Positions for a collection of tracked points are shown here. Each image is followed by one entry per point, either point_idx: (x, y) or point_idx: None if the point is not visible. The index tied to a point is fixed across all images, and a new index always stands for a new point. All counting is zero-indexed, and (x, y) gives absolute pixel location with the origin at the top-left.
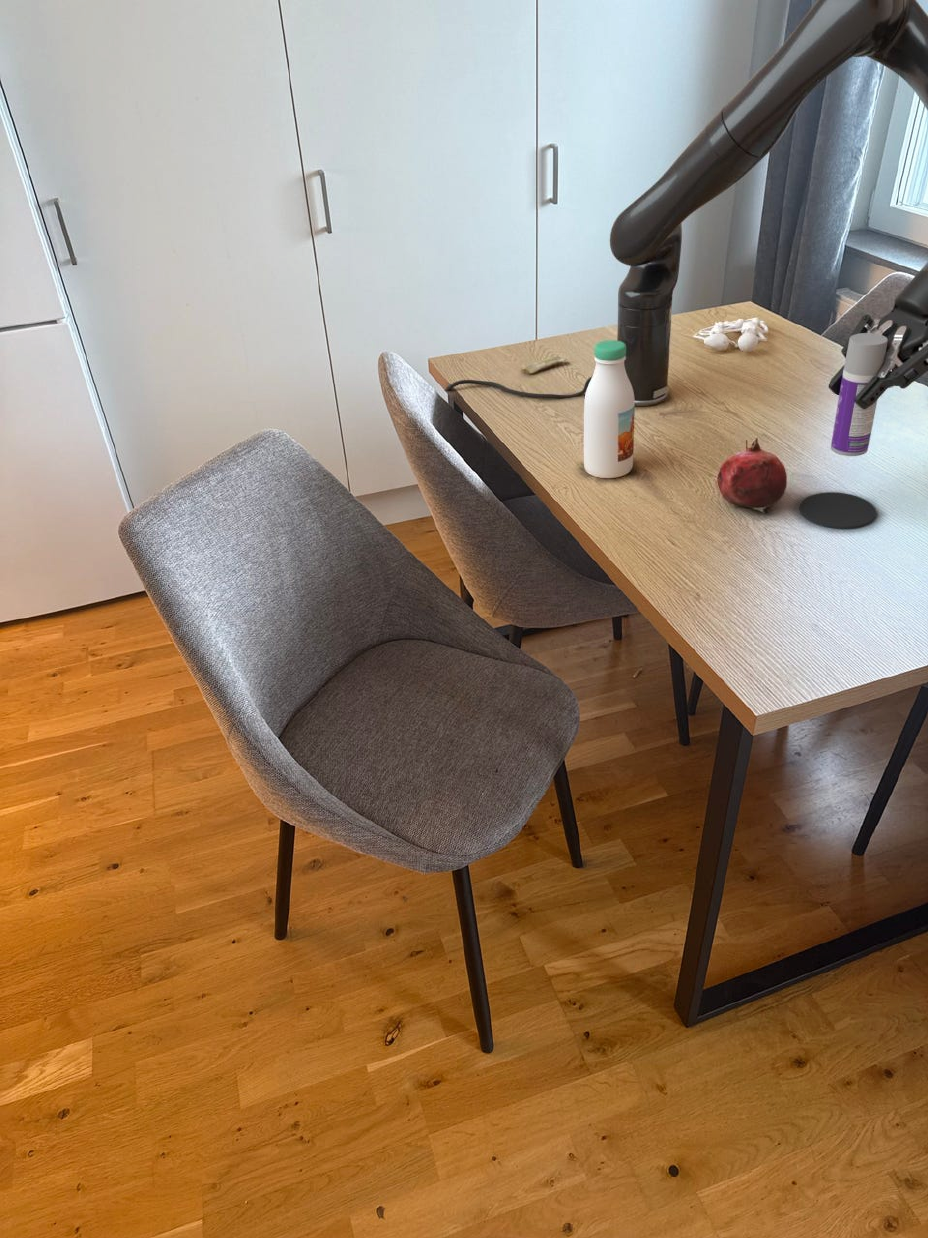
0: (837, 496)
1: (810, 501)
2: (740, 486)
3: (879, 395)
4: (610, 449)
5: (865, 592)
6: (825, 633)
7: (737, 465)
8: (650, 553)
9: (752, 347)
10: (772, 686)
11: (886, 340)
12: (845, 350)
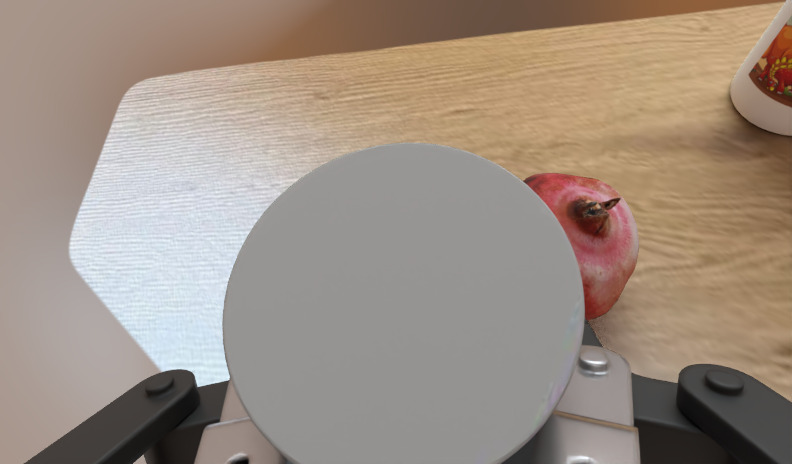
0: (506, 461)
1: None
2: None
3: None
4: (763, 37)
5: (205, 290)
6: (173, 191)
7: (545, 175)
8: (445, 79)
9: None
10: (145, 104)
11: (250, 404)
12: (705, 376)
